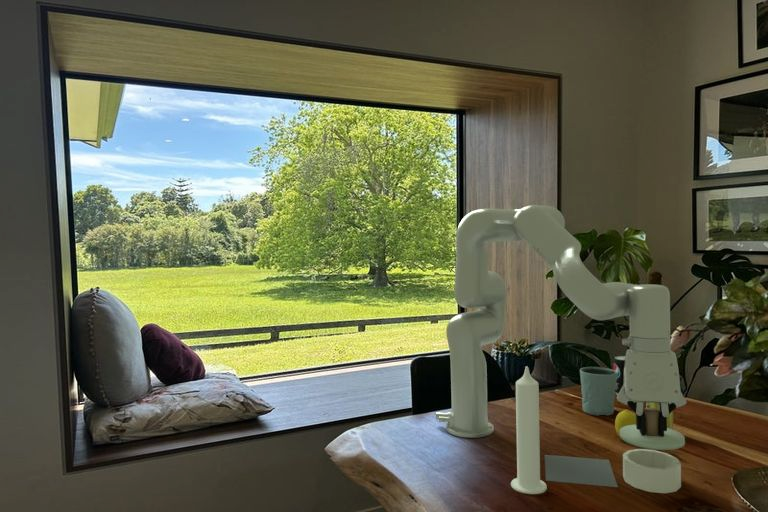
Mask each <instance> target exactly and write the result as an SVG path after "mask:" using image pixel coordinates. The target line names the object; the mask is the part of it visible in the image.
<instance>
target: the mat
mask: <svg viewBox="0 0 768 512" xmlns="http://www.w3.org/2000/svg"><path fill="white" fill-rule="evenodd" d="M544 470H545V471H544V472H545V482H555V483H564V484H565V483H566V484H576V485H577V484H578V485H585V486H586V485H587V486H599V487H608V488H609V487H610V488H619V486H618V485H619V484H618V483H617V480H616V477H615V475H614V472H613V471H614V470H613V468H612V466H611V463H610V460H609V459H603V458H592V457H591V458H590V457H578V456H577V457H576V456H567V455H566V456H564V455H553V454H544Z"/></svg>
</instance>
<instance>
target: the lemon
mask: <svg viewBox="0 0 768 512" xmlns="http://www.w3.org/2000/svg"><path fill="white" fill-rule="evenodd" d="M628 425H636V413H635V412H632V411H630V410H629V409H624V410H622V411H620V412H618V414H617V415H616V417H615V421H614V428H615V432H616V434H617V435H618V437H620V429H621V428H622V427H624V426H628Z"/></svg>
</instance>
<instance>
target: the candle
mask: <svg viewBox="0 0 768 512" xmlns="http://www.w3.org/2000/svg"><path fill="white" fill-rule="evenodd" d="M524 368H525V369H524V373H523V375H522V376H521V377H520V378H519V379H517V380H516V381H515V416H516V417H515V419H516V423H515V424H516V469H517V470H516V471H517V472H516V475H517V476H516V478H513V479H512V480H511V482H510V486H511V488H512V489H513V490H515V491H517V492H519V493H523V494H528V495H539V494H542V493H545V492H546V491H547V489H548V488H547V487H548V486H547V484H546V483H545V482H546V481H545V482H544V481H543V480H542V479H541V458H540V455H541V453H540V396H539V395H540V392H539V391H540V390H539V385H540V384H539V382H538V381H537V380H536V379H534V377H532V376H531V374H530V368H529V367H528V365H527V366H525V367H524Z"/></svg>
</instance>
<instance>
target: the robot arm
mask: <svg viewBox="0 0 768 512" xmlns="http://www.w3.org/2000/svg"><path fill="white" fill-rule="evenodd" d="M565 226H566V221H565V218H564V215H563V213H561V211H560V210H558V209H557V208H556V207H553V206H551V205H539V204H533V205H532V204H531V205H530V204H529V205H526V206H524V207H521V208H518V209H517V208H515V209H506V208H505V209H504V208H488V207H487V208H479V209H476V210H472V211H471V212H469V213H467V214H465V216H463V218H462V219H461V221H460V222H459V223H458V227H457V231H456V239H455V240H456V259H455V260H456V263H455V274H454V275H455V276H454V294H453V295H454V300H455V302H456V303H457V304H458V305H459V306H460V307H461V308H466V309H472V308H473V309H475V310H472V311H467V312H461V313H458V314H456V315H454V316H453V317H452V318H451V319H450V320H448V323H447V326H446V330H445V331H446V332H445V334H446V339H447V344H448V349H449V350H448V351H449V357H450V358H449V359H450V383H451V384H450V389H451V391H450V393H451V394H450V395H451V400H450V401H451V410H450V411H447V412H439V411H436V412H435V420H438V422H440V423H441V422H442V423H444V422H446V426H445V429H446V431H447V432H448V433H449V434H450V435H453V436H455V437H459V438H469V439H475V438H484V437H488V436H490V435H491V434H493V433H494V431H495V429H494V427H495V426H494V424H492V423H491V422H490V421H489V419H488V418H489V417H488V377H487V376H488V373H487V367H488V366H487V361H486V356H485V354H484V352H483V349H482V346H485V345H489V344H492V343H495V342H497V341H498V340H500V338H501V337H502V335H503V332H504V331H505V330H504V329H505V322H506V321H505V320H506V310H507V307H506V306H507V293H508V292H507V285H506V283H505V280H504V279H503V277H502V276H501V275H500V274H499V273H498V272H496V271H492V270H489V265H490V255H489V250H488V247H487V245H486V244H487V243H489V242H491V243H492V242H495V243H496V242H497V243H498V242H525V243H526V244H527V245H528V246H529V248H531V249H532V250H533V251H534V252H535V253H536V254H537V255H538V256H539V257H540V258H541V259H542V260H543V261H544V262H545V263H546V264H547V265H548V266H549V267H550V268H551V270H552V272H553V276H554V278H555V280H556V282H557V285H558V287H559V288H560V290H561V291H562V293H563V294H564V295H565V296H566V297H567V298H568V299H569V300H570V301H571V302H572V303H573V304H574V305H575V306H576V307H577V308H578V310H580V311H581V312H582V313H583V314H584V315H586V316H587V317H589V318H591V319H593V320H596V321H606V320H607V321H608V320H610V319H614V318H615V319H616V318H618V317H625V316H629V317H628V318H629V320H628V321H629V335H628V337H627V338H622V339H621V340H622V341H621V342H622V343H621V344H622V345H623V346H627V347H629V349H627V350H626V352H625V356H626V357H625V364H624V377H623V386H622V388H621V390H620V392H619V394H618V395H616V399H617V402H620V403H622V404H623V405H625V406H628V407H629V408H630V409H631V410H632V411H633V413H634V414H635V415H636V428H637V429H638V430H639V431H640V433H641V435H646V423H645V415H644V403H646V402H654V403H659V435H660V436H663V437H664V431H667V417H668V416H669V414H670V413H671V412H672V411H673V412H674V410H676V409H677V408H680V407H683V406H685V405H686V404H688V403H687V400H686V398H685V396H684V395H683V393H682V391H681V382H680V381H681V380H680V372H679V365H678V363H679V362H678V358H677V355H676V352H674V351H672V350H671V347H672V345H671V342H672V341H671V296H670V295H671V294H670V289H669V288H668V287H667V286H666V285H662V284H650V283H649V284H646V283H645V284H641V283H640V284H634V283H628V282H627V283H626V282H620V281H613V282H604V283H603V282H601V281H600V280H599V279H598V278H597V277H596V276H595V275H593V273H592V272H591V271H590V270H589V269H588V268H587V267H586V266H585V265H584V263H583V262H582V259H581V257H580V252H581V250H582V244H581V242H580V241H579V240H578V238H576V237H575V236H573V235H572V234H571V233H570V232H569V231H568V230H567V229H566V227H565Z"/></svg>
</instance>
